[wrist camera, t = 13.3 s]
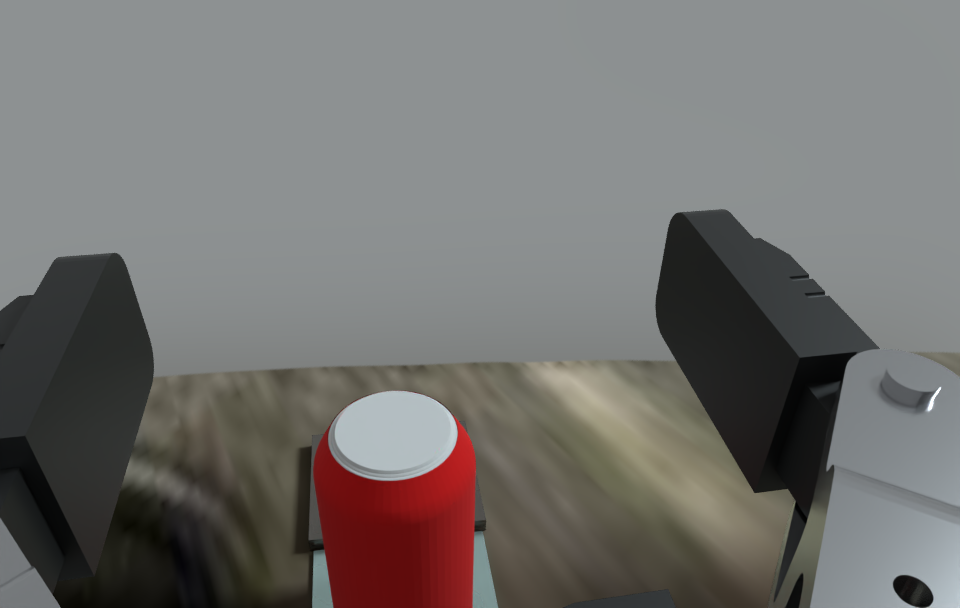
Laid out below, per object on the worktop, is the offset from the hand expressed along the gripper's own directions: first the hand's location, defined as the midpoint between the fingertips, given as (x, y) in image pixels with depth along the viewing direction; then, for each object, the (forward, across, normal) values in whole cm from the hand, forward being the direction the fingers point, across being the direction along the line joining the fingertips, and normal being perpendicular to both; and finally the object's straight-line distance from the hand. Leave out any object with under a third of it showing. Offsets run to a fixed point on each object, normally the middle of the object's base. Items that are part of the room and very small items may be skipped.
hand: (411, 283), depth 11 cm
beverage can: (+10, +1, +26) cm, 28 cm away
